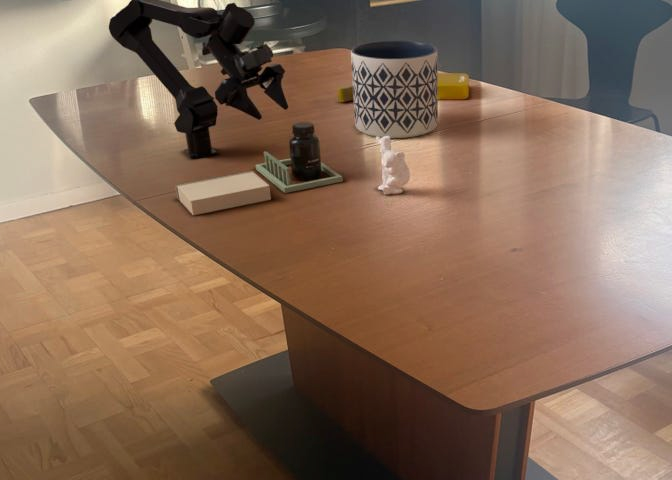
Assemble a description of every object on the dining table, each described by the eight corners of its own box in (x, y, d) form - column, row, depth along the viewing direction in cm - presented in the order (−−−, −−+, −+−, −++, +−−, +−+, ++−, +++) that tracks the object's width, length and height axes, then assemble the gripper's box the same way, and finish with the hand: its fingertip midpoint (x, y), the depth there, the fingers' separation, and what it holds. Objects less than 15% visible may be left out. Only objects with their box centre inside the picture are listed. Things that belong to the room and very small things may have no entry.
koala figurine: (368, 189, 185) (365, 136, 179) (393, 183, 188) (391, 130, 182) (390, 200, 179) (388, 146, 173) (415, 193, 183) (414, 140, 176)
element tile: (468, 99, 248) (468, 83, 246) (418, 99, 248) (418, 83, 246) (468, 87, 261) (468, 71, 259) (420, 87, 261) (420, 71, 259)
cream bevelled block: (177, 199, 180) (174, 185, 178) (254, 184, 188) (252, 170, 186) (192, 215, 172) (189, 201, 170) (271, 199, 180) (270, 185, 178)
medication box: (368, 95, 253) (367, 81, 252) (374, 95, 252) (373, 82, 250) (337, 101, 246) (336, 87, 244) (343, 102, 244) (341, 88, 242)
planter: (340, 133, 220) (334, 54, 209) (377, 111, 238) (374, 37, 227) (417, 143, 213) (416, 62, 202) (450, 120, 230) (450, 44, 220)
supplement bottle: (316, 182, 189) (311, 130, 183) (287, 180, 190) (282, 128, 184) (326, 172, 195) (322, 121, 188) (298, 170, 196) (293, 119, 189)
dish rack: (255, 169, 196) (253, 150, 194) (310, 159, 202) (309, 140, 200) (284, 193, 183) (282, 173, 181) (342, 181, 189) (341, 161, 187)
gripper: (217, 41, 175) (263, 101, 176) (274, 26, 189) (317, 82, 190) (195, 75, 183) (240, 132, 184) (251, 58, 196) (293, 111, 198)
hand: (274, 113), depth 189 cm, fingers open, 9 cm apart
